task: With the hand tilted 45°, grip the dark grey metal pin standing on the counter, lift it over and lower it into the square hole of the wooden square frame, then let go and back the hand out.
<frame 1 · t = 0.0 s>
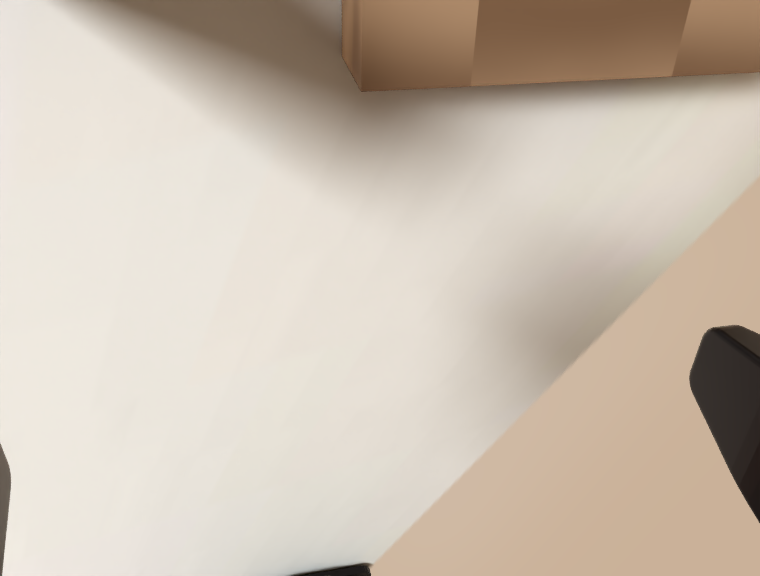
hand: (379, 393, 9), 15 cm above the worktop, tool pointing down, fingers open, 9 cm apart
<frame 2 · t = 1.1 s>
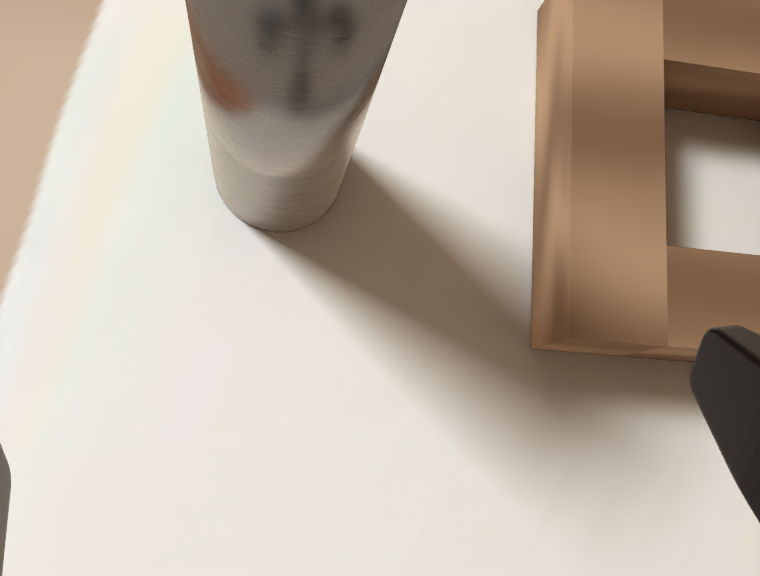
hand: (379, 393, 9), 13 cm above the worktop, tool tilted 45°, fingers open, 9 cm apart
wooden square frame: (697, 191, 25), on the worktop
metal pin: (278, 170, 23), on the worktop
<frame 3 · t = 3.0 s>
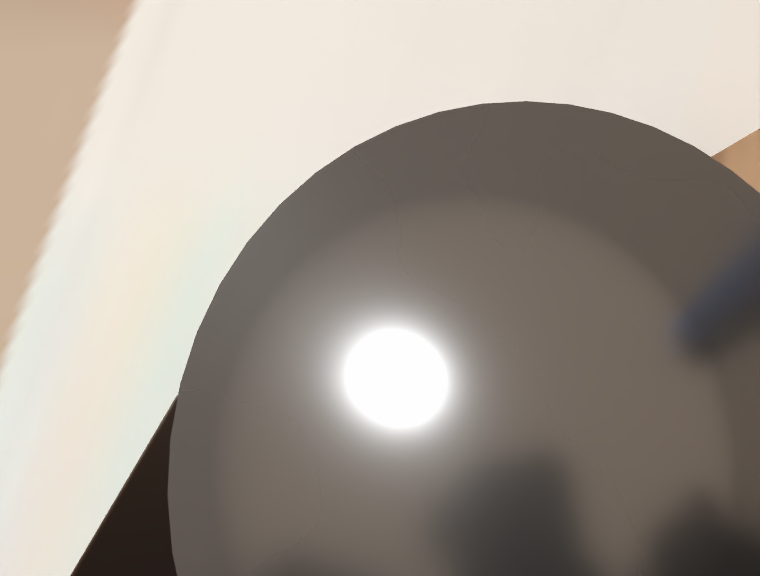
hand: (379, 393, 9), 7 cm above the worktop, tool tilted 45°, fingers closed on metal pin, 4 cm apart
metal pin: (331, 433, 15), on the worktop, touching gripper
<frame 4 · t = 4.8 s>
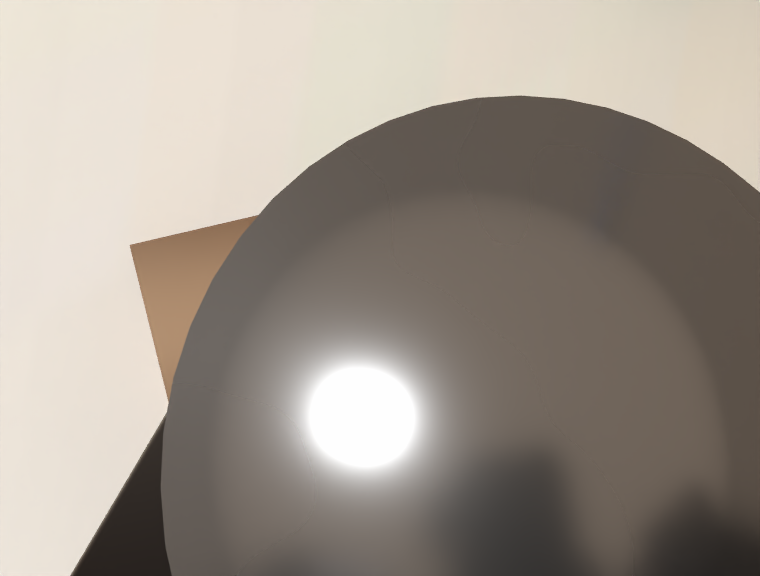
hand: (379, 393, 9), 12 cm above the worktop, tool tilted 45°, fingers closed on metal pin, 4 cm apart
wooden square frame: (399, 411, 22), on the worktop
metal pin: (329, 431, 15), point 6 cm above the worktop, touching gripper
when the fingers open (7 cm above the worktop, at t = 6.6 s): metal pin stays where it is, resting in wooden square frame.
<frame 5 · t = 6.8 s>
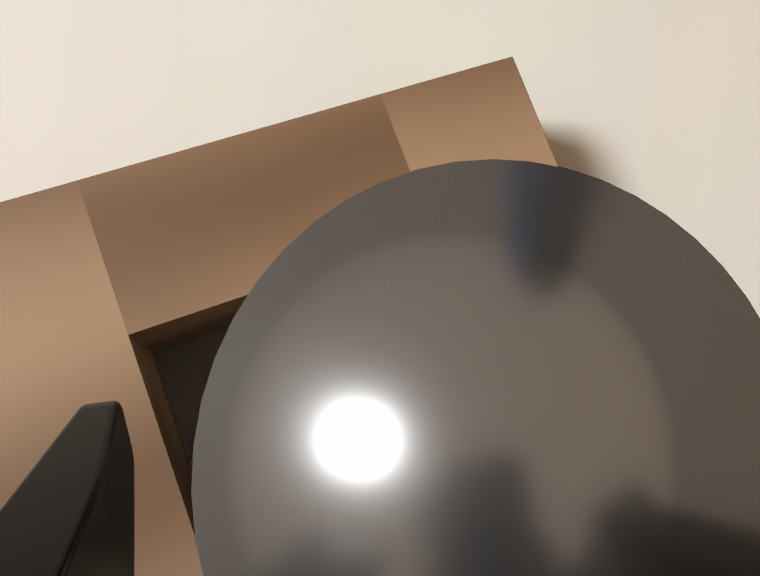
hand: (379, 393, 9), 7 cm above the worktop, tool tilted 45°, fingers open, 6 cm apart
wooden square frame: (327, 432, 16), on the worktop
metal pin: (329, 434, 16), resting in wooden square frame
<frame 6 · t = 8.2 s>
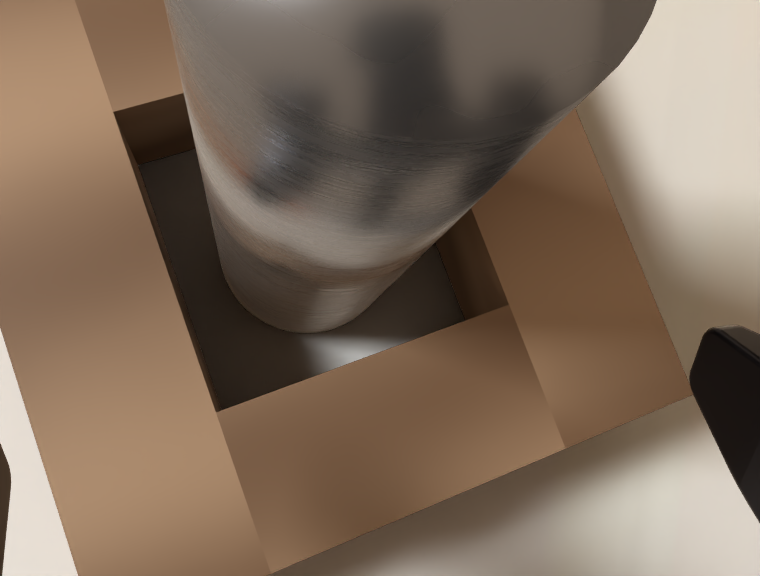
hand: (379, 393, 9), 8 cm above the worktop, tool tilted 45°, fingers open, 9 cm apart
wooden square frame: (305, 245, 17), on the worktop
metal pin: (306, 248, 17), resting in wooden square frame
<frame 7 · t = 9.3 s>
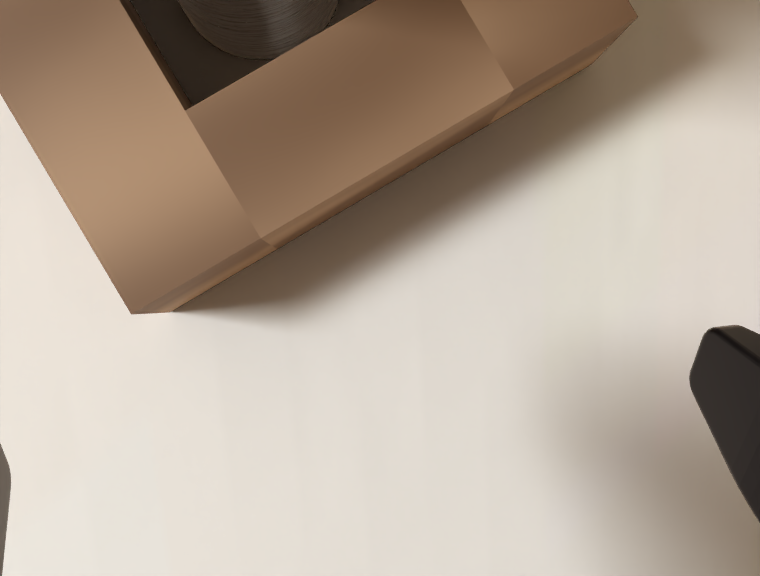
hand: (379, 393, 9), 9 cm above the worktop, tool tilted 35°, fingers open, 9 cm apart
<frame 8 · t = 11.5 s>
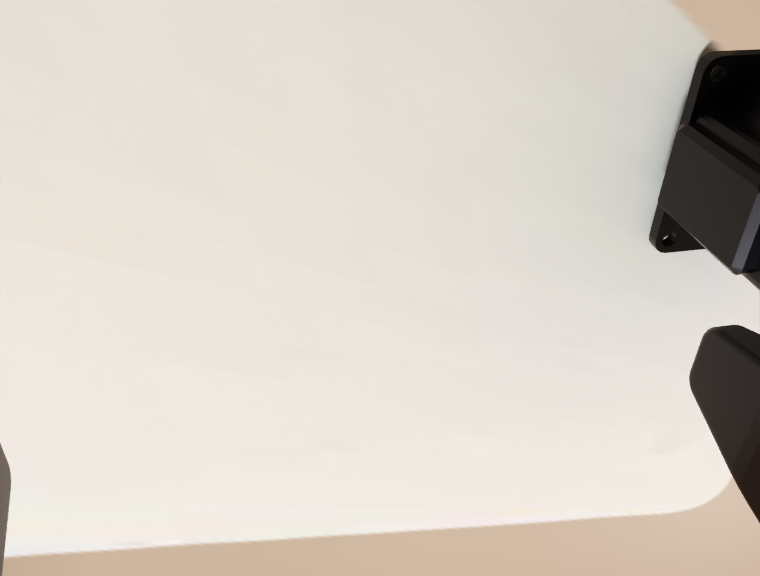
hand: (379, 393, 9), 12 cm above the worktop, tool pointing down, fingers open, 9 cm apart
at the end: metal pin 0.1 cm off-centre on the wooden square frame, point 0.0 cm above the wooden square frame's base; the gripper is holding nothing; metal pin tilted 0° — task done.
